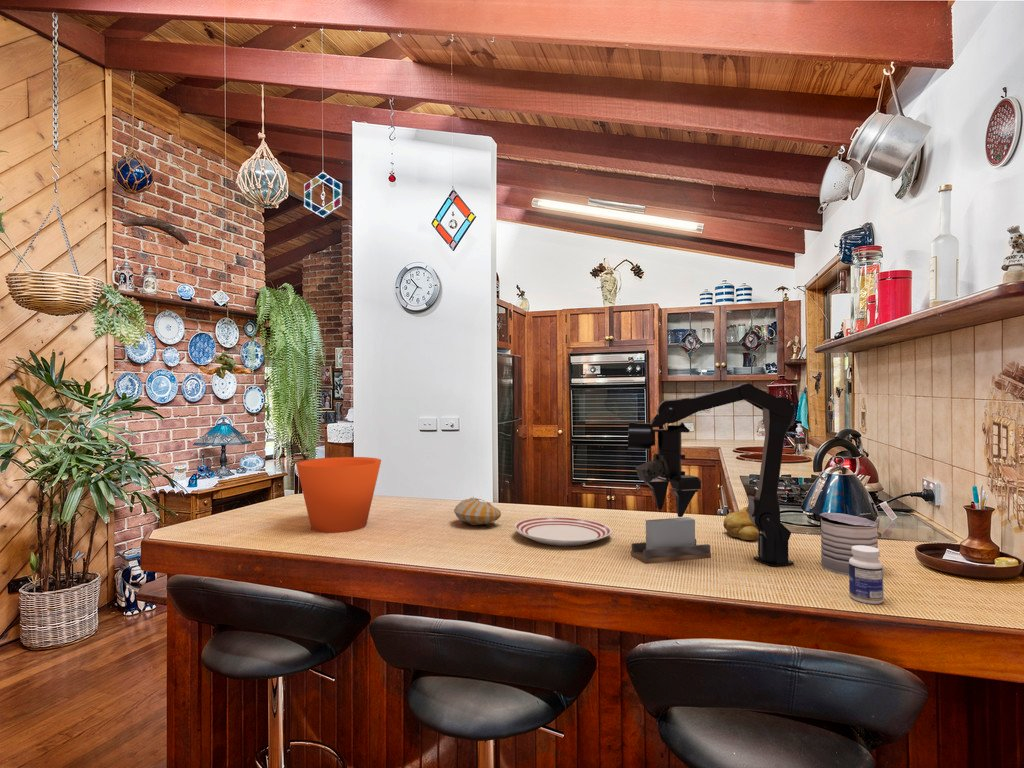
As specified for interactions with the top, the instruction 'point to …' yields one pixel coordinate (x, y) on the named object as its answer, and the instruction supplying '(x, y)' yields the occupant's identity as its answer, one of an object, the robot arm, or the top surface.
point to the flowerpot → (338, 491)
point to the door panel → (670, 533)
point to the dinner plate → (562, 530)
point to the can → (844, 539)
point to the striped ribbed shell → (476, 512)
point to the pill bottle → (866, 575)
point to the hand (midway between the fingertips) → (669, 513)
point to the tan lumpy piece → (741, 525)
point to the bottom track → (669, 553)
